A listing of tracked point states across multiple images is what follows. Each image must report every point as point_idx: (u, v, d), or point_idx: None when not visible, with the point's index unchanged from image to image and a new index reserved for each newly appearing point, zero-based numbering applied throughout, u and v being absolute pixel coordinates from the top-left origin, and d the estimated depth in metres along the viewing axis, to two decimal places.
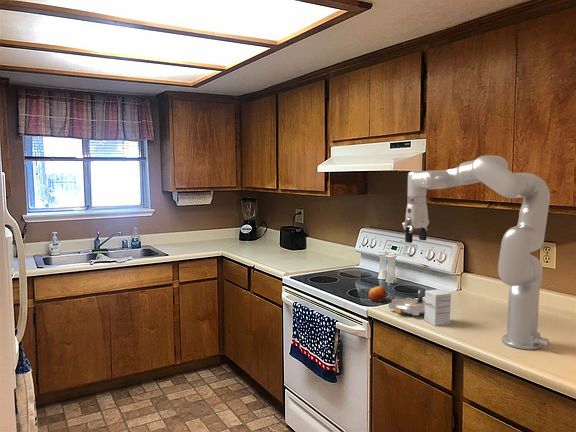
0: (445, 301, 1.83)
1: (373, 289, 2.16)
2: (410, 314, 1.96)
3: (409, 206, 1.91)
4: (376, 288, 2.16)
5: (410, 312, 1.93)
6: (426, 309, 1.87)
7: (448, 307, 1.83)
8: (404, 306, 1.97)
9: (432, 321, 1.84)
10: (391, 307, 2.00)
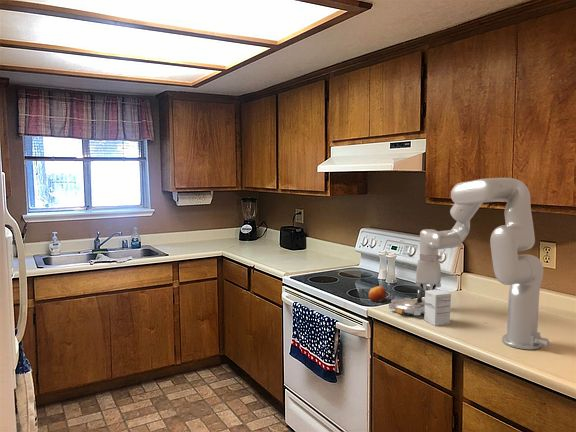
0: (445, 301, 1.83)
1: (373, 289, 2.16)
2: (410, 314, 1.96)
3: (439, 263, 2.00)
4: (376, 288, 2.16)
5: (411, 312, 1.93)
6: (426, 309, 1.87)
7: (448, 307, 1.83)
8: (405, 306, 1.96)
9: (432, 321, 1.84)
10: (391, 307, 2.00)
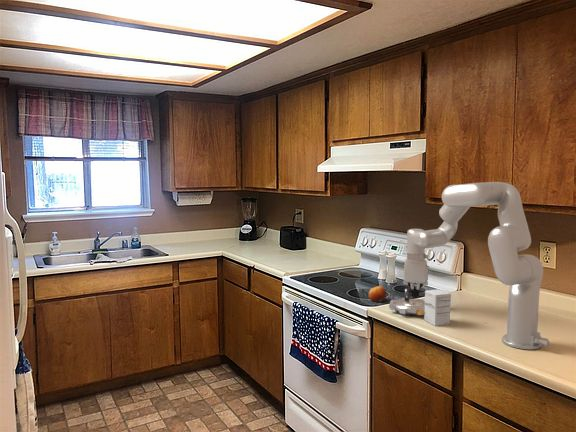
0: (445, 301, 1.83)
1: (373, 289, 2.16)
2: (410, 314, 1.96)
3: (426, 262, 2.02)
4: (376, 288, 2.16)
5: None
6: (426, 309, 1.87)
7: (448, 307, 1.83)
8: (418, 307, 1.95)
9: (432, 321, 1.84)
10: (406, 312, 1.93)
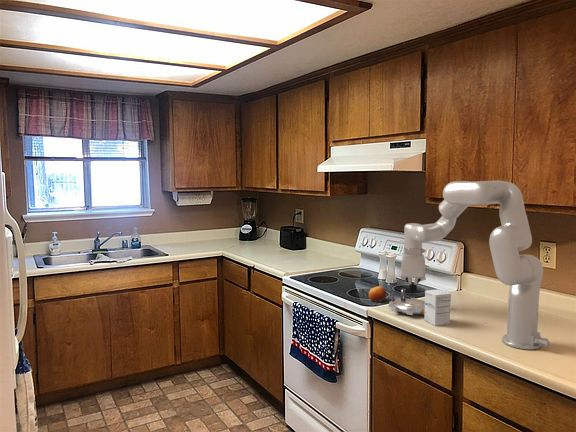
0: (445, 301, 1.83)
1: (373, 289, 2.16)
2: None
3: (423, 257, 2.02)
4: (376, 288, 2.16)
5: None
6: (426, 309, 1.87)
7: (448, 307, 1.83)
8: (421, 307, 1.95)
9: (432, 321, 1.84)
10: (412, 313, 1.92)
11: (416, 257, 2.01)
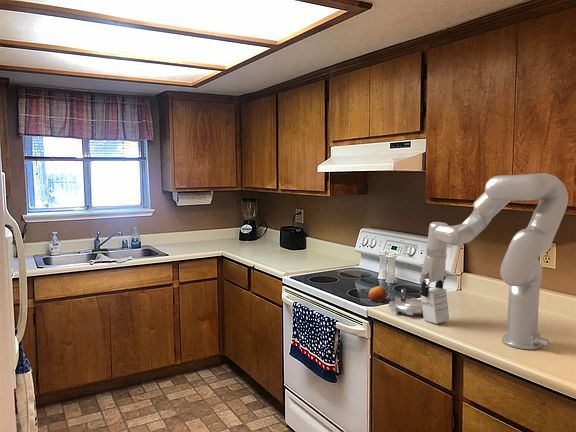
0: (442, 298, 1.84)
1: (373, 289, 2.16)
2: None
3: None
4: (376, 288, 2.16)
5: None
6: (424, 308, 1.87)
7: (445, 303, 1.85)
8: (421, 307, 1.95)
9: (432, 319, 1.84)
10: (412, 313, 1.92)
11: (443, 259, 1.85)
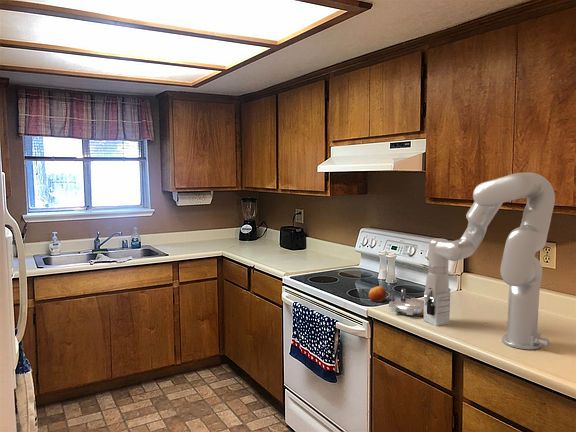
0: (445, 301, 1.83)
1: (373, 289, 2.16)
2: None
3: None
4: (376, 288, 2.16)
5: None
6: (426, 309, 1.87)
7: (448, 306, 1.84)
8: (421, 307, 1.95)
9: (433, 321, 1.84)
10: (412, 313, 1.92)
11: (445, 275, 1.84)
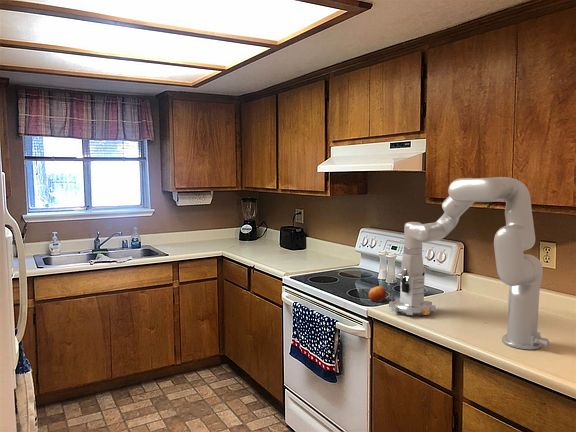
0: (420, 283, 1.97)
1: (373, 289, 2.16)
2: None
3: None
4: (376, 288, 2.16)
5: (430, 310, 1.96)
6: None
7: (422, 288, 1.98)
8: (421, 307, 1.95)
9: (408, 302, 1.97)
10: (412, 313, 1.92)
11: (420, 256, 1.98)
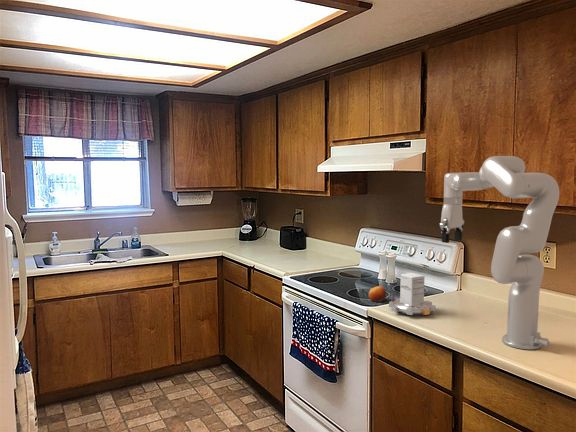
0: (420, 283, 1.97)
1: (373, 289, 2.16)
2: None
3: None
4: (376, 288, 2.16)
5: (430, 310, 1.96)
6: (402, 291, 2.00)
7: (422, 288, 1.98)
8: (421, 307, 1.95)
9: (408, 302, 1.97)
10: (412, 313, 1.92)
11: (460, 206, 1.98)
